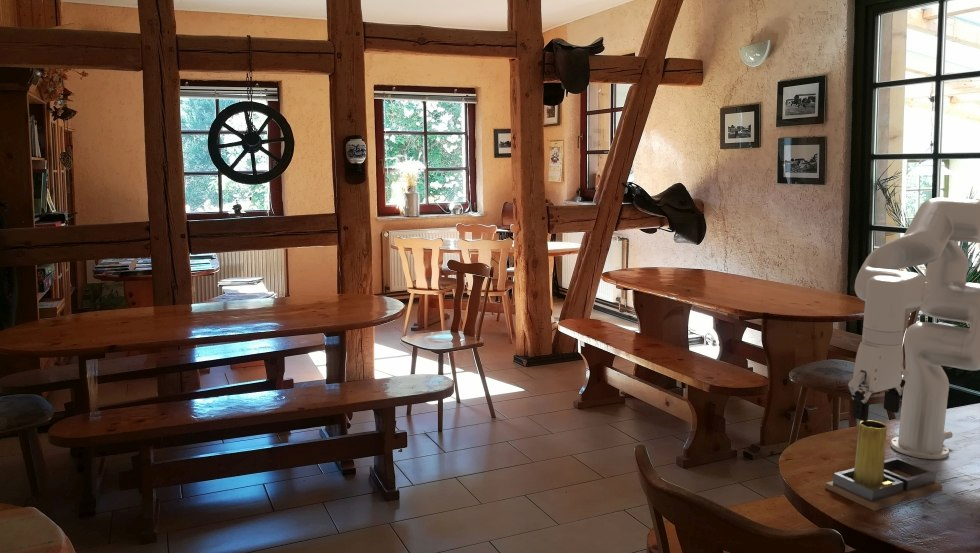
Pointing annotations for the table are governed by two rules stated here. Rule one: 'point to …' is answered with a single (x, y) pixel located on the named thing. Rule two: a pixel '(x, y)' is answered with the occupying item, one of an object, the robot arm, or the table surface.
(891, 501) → the board
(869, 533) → the table surface
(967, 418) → the table surface
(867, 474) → the vase
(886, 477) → the two-cubby wall shelf
